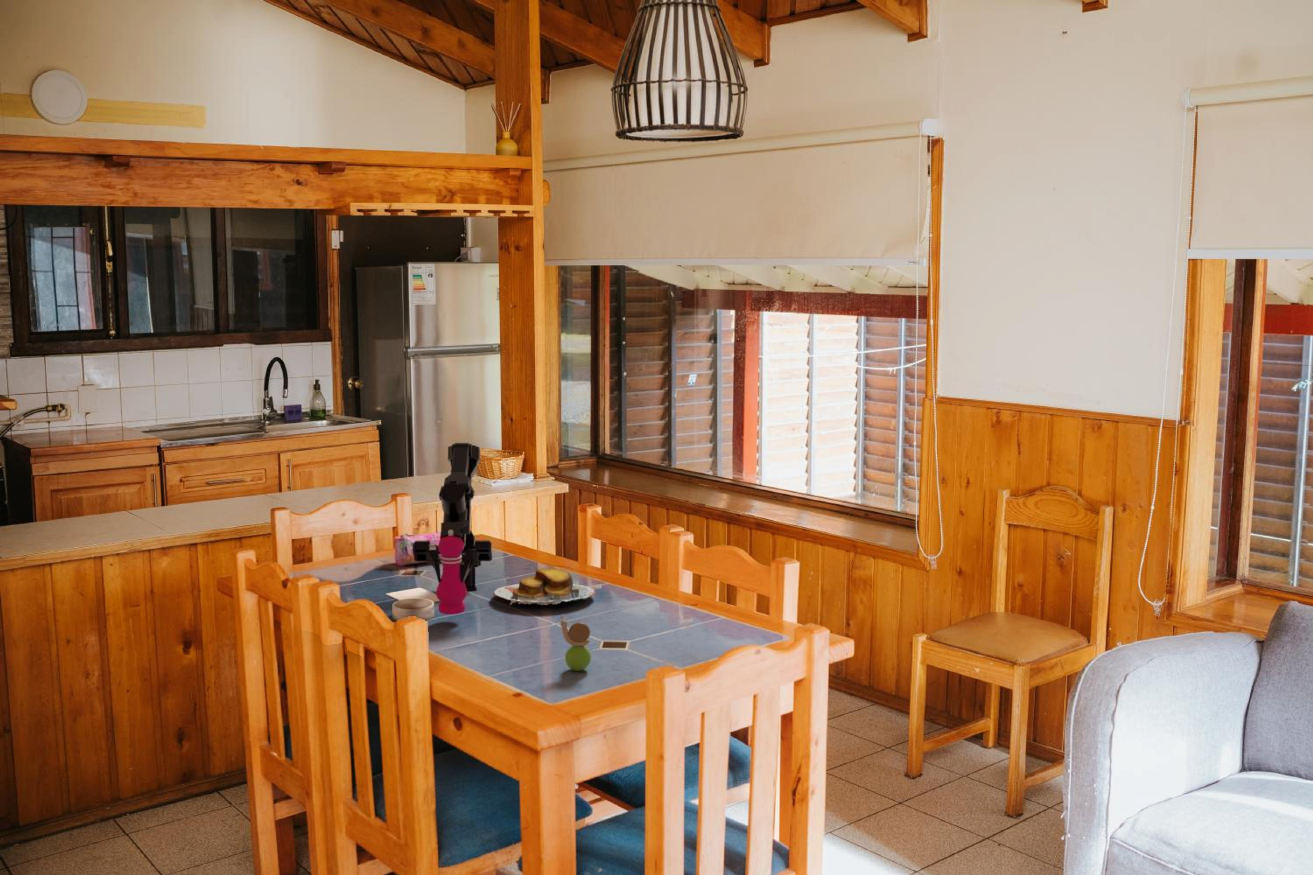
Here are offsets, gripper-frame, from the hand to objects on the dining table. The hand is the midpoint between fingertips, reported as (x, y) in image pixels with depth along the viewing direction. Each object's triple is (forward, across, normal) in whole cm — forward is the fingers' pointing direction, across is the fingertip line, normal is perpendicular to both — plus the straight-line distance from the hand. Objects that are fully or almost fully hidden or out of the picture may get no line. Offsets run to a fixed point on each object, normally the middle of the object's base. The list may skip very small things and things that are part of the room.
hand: (450, 581), depth 279 cm
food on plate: (-7, +22, +23) cm, 32 cm away
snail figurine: (+32, +29, -17) cm, 46 cm away
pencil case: (-36, -12, +53) cm, 65 cm away
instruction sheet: (-9, -11, +24) cm, 29 cm away
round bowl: (+3, -10, +12) cm, 16 cm away
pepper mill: (+5, 0, +6) cm, 8 cm away
